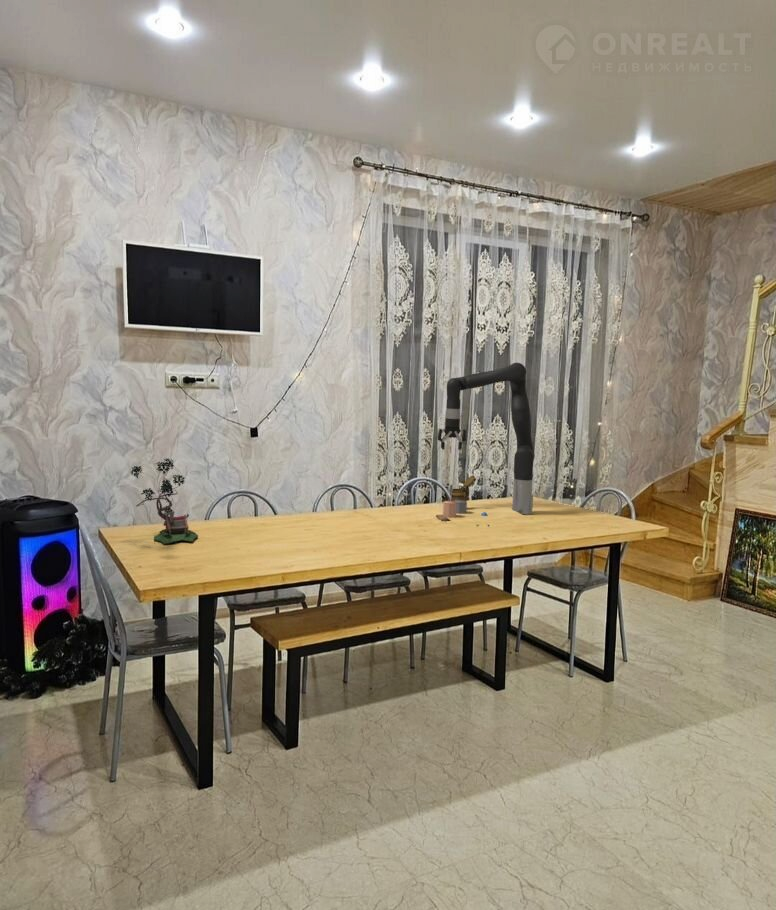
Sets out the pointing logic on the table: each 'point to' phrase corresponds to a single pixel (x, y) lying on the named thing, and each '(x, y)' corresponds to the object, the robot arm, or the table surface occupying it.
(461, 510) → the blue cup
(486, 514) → the blue marble
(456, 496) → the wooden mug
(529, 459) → the robot arm
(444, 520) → the walnut coaster
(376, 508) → the table surface
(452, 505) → the terracotta cup
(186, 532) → the bonsai tree
